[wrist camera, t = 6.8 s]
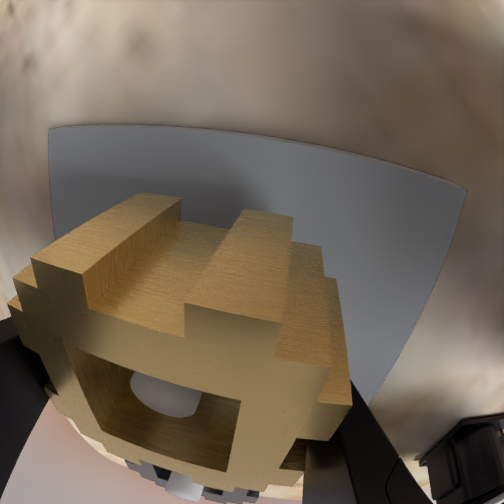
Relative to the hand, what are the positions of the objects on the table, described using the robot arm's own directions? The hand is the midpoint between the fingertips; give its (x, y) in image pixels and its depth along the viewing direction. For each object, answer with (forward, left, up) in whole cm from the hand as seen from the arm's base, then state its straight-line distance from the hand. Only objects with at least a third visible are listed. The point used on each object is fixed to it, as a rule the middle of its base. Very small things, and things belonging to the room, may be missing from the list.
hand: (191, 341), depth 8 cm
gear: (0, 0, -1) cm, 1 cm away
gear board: (0, +3, -4) cm, 6 cm away
